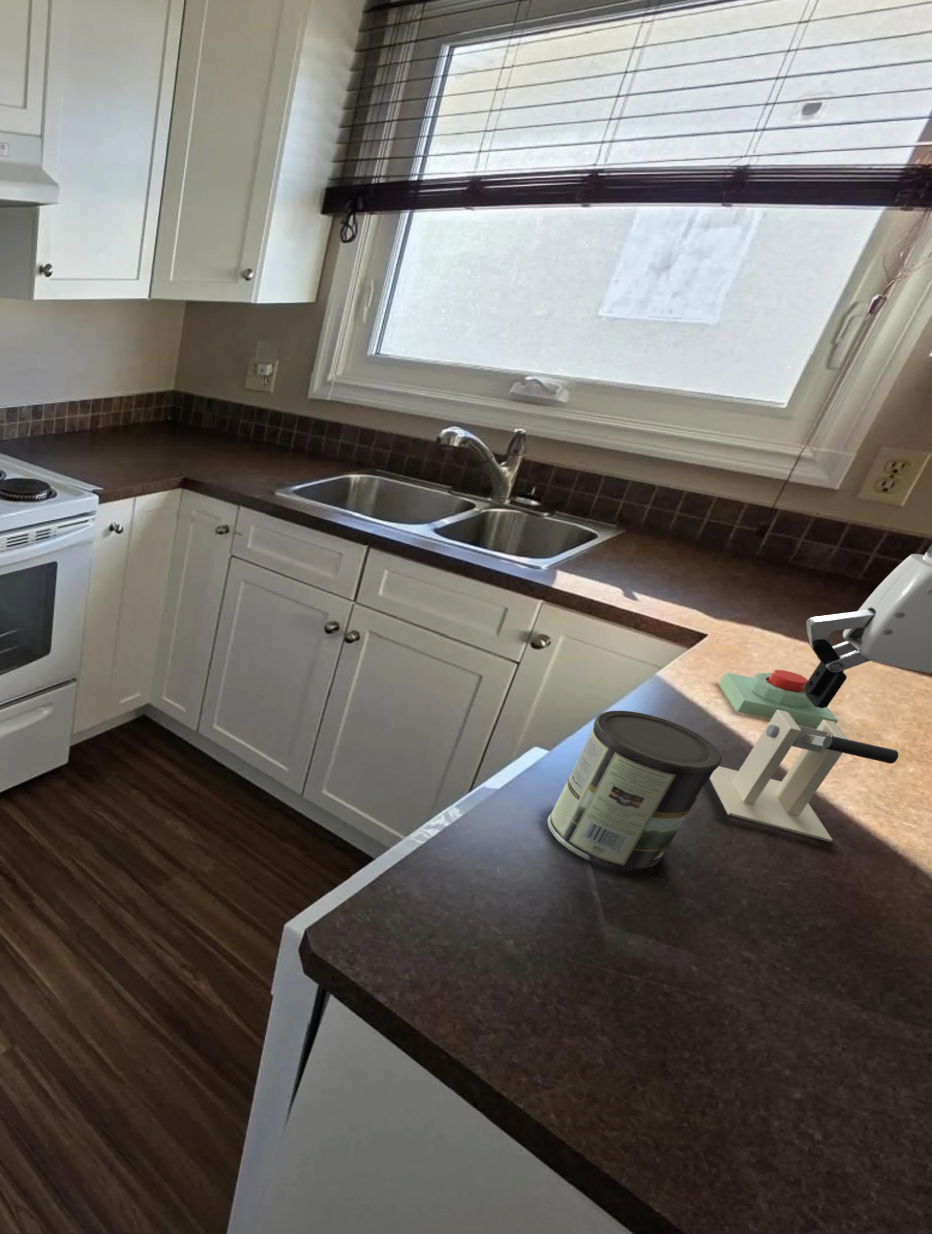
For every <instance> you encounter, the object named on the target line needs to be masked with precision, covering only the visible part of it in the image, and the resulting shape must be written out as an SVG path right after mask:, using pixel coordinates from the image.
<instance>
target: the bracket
mask: <svg viewBox="0 0 932 1234" xmlns="http://www.w3.org/2000/svg"><path fill="white" fill-rule="evenodd" d="M799 726H800V725H797V724H796V722H795V721H794V720H793V718H792V717H791V716H790V714H789V713H788V712H786V711H781V710H777V711H776V712H775V714H774V715H773V717H772V719H769V722H768V724H767V725H766V726H765V728H764V730H763V731H762V733H761V735H760V736H759V738H758V739H757V741H756V742H755V744H754V745H753V747H752V749H751V751H750V752H749V754H748V755H747V757H746V759H745V760H744V761H743V763H742V765H741V767H740V768H739V769H738V770H735V769H732V768H728V767H723V766H720V765H719V766H718V768H717V769H715V770H714V771H713V773H712V775H711V776H710V778H709V780H710V783H711V784H712V786H713V788H714V790H715V792H716V794H717V797H718V798H719V800H720V802H721V804H722V805H723V808H724V810H725V812H726V814H727V815H728V816H731V817H735V818H738V819H741V820H746V821H749V822H753V823H757V824H759V825H760V824H761V825H764V826H768V827H771V828H776V829H779V830H783V831H787V832H791V833H795V834H798V835H802V836H806V837H809V838H813V839H818V840H820V841H824V842H828V843H832V842H833V840H834V839H833V837H831V835H830V834H829V832H828V831H827V829H826V827H825V825H824V824H823V823H822V821H821V819H820V818H819V816H818V815H817V814H816V812H815V811H814V809H813V808H812V806H811V805H810V803H809V802H810V801H811V800H812V798H813V796H814V795H815V794H816V792H817V790H818V789H819V788H820V786H821V785H822V783H823V782H824V780H825V779H826V778H827V776H828V775H829V773H830V772H831V771H832V769H833V767H834V766H835V765H836V763H837V762H838V760H839V759H840V757H841V756H842V755H843V753H841V752H837V751H833V750H828V749H825V748H824V747H822V749H821V752H815V751H811V750H806V749H802V750H801V751H800V753H799V754H798V756H797V758H796V759H795V761H793V763H792V765H791V767H790V768H789V770H787V773H786V774H785V775H784V777H783V779H782V781H781V780H778V779H777V780H776V779H772V777H773V776H774V775H775V773H776V772H777V769H778V768H779V766H780V765H781V763H782V762H783V761H784V759H785V757H786V756H787V755H788V753H789V752H790V750H791V748H792V747H793V746H792V745H793V744H794V742H795V740H796V739H797V737H798V736H799V734H800V733H801V731H802V730H801V729H800V728H799ZM816 730H820V731H825V732H827V734H826V737H827V736H835V737H839V738H844V739H848V740H850V739H849V738H848V737H847V736H846V734H845V733H844V732H843V731H842V730H841V728H840V727H839V725H838V724H837V723H836V724H835V722H832V721H827V720H822V722H821V723H820V725H819V726H818V728H817V729H816ZM826 737H825V738H826Z"/></svg>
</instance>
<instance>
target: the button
mask: <svg viewBox="0 0 932 1234" xmlns="http://www.w3.org/2000/svg"><path fill="white" fill-rule="evenodd" d="M771 673H772V675H771V677H770V678H769V680H768V683H770V684H772V685H773V686H775V687H778V688H781V689H784V690H787V691H792V692H802V691H803V689H804V687H805V685H806V683H807V682H808V680H809V679H807V677H805V676H803V675H801V674H798V673H796V672H793V671H789V670H784V669H783V670H782V669H775V670H773V672H771Z"/></svg>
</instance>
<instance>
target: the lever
mask: <svg viewBox="0 0 932 1234" xmlns="http://www.w3.org/2000/svg"><path fill="white" fill-rule="evenodd" d="M798 726H799V728H800V729H801V730H802V731H801V733H800V734H799V736H798V737H797V739H796V740H795V742H794V744H793V745H792V747H794V748H798V749H802V750H803V749H806V750H811V751H815V752H821V749H822V747H824V748H825V749H828V750H833V751H837V752H841V753H842V754H846V755H850V756H854V757H860V758H863V759H868V760H872V761H875V762H876V761H877V762H881V763H885V764H890V765H891V764H894V763H896V762H897V761H898V759H899V752H898V751H897V749H894V748H893V749H892V748H888V747H883V746H880V745H875V744H870V743H867V742H861V741H856V740H853V739H849V738H848V739H849V740H848V739H844V738H839V737H835V736H827V737H826V734H827V732H825V731H820V730H816V729H813V728H809V727H804V726H800V725H798ZM825 737H826V738H825Z"/></svg>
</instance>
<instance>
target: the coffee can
mask: <svg viewBox="0 0 932 1234" xmlns="http://www.w3.org/2000/svg"><path fill="white" fill-rule="evenodd" d="M722 760H723V757H722V754H721V752H720V751H719V749H717V747H716V746H715V745H714V744H712V742H711V741H709V740H707V739H706V738H704V737H703V736H702V735H701V734H698V733H697V732H694V731H693V730H691V729H689V728H687V727H685V726H682V725H680V724H678V723H675V722H672V721H671V720H667V719H666V718H665V719H664V718H661V717H658V716H654V715H651V714H647V713H642V712H637V711H630V710H607V711H603V712H601V713H599V714H598V715H597V716H596V718H595V719H594V721H593V727H592V729H591V732H590V733H589V736H588V738H587V740H586V742H585V744H584V746H583V748H582V750H581V752H580V754H579V756H578V757H577V760H576V761H575V764H574V767H573V769H572V770H571V773H570V774H569V777H568V779H567V780H566V783H565V785H564V787H563V788H562V791H561V793H560V795H559V797H558V799H557V801H556V803H555V805H554V807H553V809H552V810H551V813H550V814H549V816H548V817H547V826H548V830H549V832H551V834H552V836H553V837H554V838H555V839H556V840H557V841H558V842H559V843H560V844H561V845H562V846H563V847H565V848H566V849H567V850H568V851H570V852H572V853H573V854H575V855H576V856H577V857H580V858H582V859H584V860H586V861H588V862H591V858H590V856H591V857H593V858H597V859H599V860H601V861H604V862H606V863H610V864H612V865H615V866H619V867H620V866H621V867H624V868H625V867H627V868H632V869H633V868H634V869H645V868H651V867H654V866H656V865H657V864H658V863H660V862H661V860H662V858H663V857H664V855H665V853H666V852H667V850H668V849H669V846H670V845H671V843H672V841H673V840H674V838H675V836H676V835H677V833H678V831H679V830H680V827H681V826H682V824H683V823H684V821H685V819H686V818H687V816H688V814H689V813H690V811H691V809H693V806H694V804H695V803H696V801H697V800H698V798H699V796H700V795H701V793H702V791H703V790H704V788H705V786H706V784H707V783H708V781H709V780H710V776H711V775H712V773H713V771H714V770H715V769H717V768H718V766H720V765H721V764H722V762H723V761H722Z"/></svg>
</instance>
